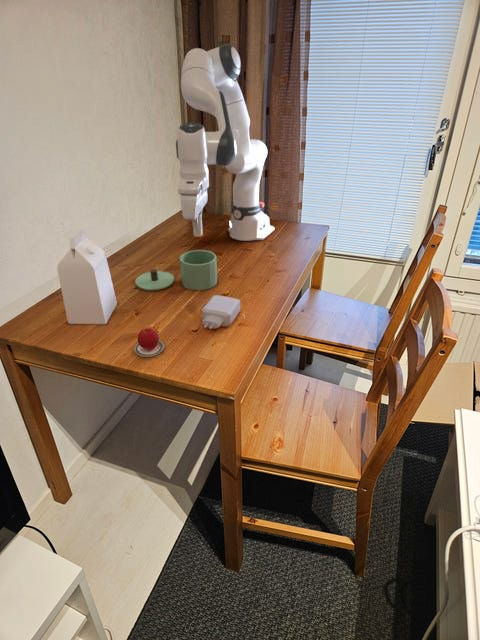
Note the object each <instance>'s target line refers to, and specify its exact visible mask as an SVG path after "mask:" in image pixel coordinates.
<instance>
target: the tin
mask: <svg viewBox="0 0 480 640" xmlns="http://www.w3.org/2000/svg"><path fill="white" fill-rule="evenodd" d="M179 267H180V268H179V269H180V279H181V285H182V286H183V287H184V288H185V289H187V290H191V291H192V290H193V291H206V290H209V289H212V288H214V287H215V286H216V285H217V284H218V259H217V254H215V253H214V252H213V251H211V250H206V249H193V250H189V251H186V252H184V253H182V254H181V255H180V256H179Z"/></svg>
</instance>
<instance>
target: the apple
mask: <svg viewBox="0 0 480 640" xmlns="http://www.w3.org/2000/svg"><path fill="white" fill-rule="evenodd" d="M164 348H165V344H164V342H163V341H161V340H160V336H159V334H158V332H157V331H156V329H154V328H151V327H147V328H144V329H141V330H140V331H139V333H138V334H137V344H135V346H134V348H133V351H134V353H135V354H136V355H137V356H139V357H142V358H152V357H154V356H155V357H156V356H157V355H159V354H161V353H162V352H163V351H164Z"/></svg>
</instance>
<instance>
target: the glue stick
mask: <svg viewBox="0 0 480 640" xmlns="http://www.w3.org/2000/svg"><path fill="white" fill-rule="evenodd" d="M201 214H202V215H201ZM202 216H203V211H202V212H200V213H199V215H198V221H199V226H198V227H193V226H192V233H193V234H192V235H193V237H197V238H198V237H203V234H204V233H203V219H202V218H203V217H202Z"/></svg>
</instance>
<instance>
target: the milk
mask: <svg viewBox="0 0 480 640" xmlns="http://www.w3.org/2000/svg"><path fill="white" fill-rule="evenodd" d="M68 239H69V250H68V251H67V252H66V254H65V255H64V256H63V257H62V258H61V260H60V261H58V264H57V267H56V269H57V270H56V271H57V274H58V275H57V276H58V280H59V284H60V290H61V294H62V295H61V296H62V299H63V304H64V305H63V306H64V310H65V314H66V319H67V320H66V321H67V324H72V325H73V324H74V325H75V324H76V325H107V324H108V321H109V320H110V318H111V316H112V314H113V313H114V311H115V309H116V307H117V305H118V302H117V298H116V293H115V289H114V284H113V280H112V276H111V271H110V267H109V263H108V260H107V255H106V253H105V251H104V250H103V248H100V246H98V245H96V244H95V243H94V242H93V241H91V240H89V239H88V238H86V236H85V234H84V232H83V230H76V231H75V232H74V233H73V234H72V235H71V236H70V237H69V238H68Z"/></svg>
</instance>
